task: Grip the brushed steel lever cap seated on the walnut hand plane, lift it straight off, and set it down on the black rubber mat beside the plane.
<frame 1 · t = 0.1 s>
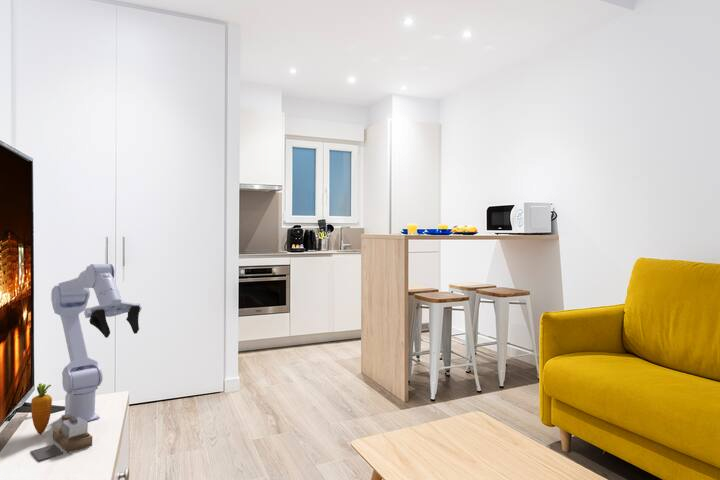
hand: (122, 333, 123), 32 cm above the table, tool tilted 50°, fingers open, 7 cm apart
carrot: (40, 435, 130), on the table
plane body: (72, 441, 126), on the table
rubber mat: (46, 453, 119), on the table
lever cap: (74, 434, 125), point 2 cm above the table, touching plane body
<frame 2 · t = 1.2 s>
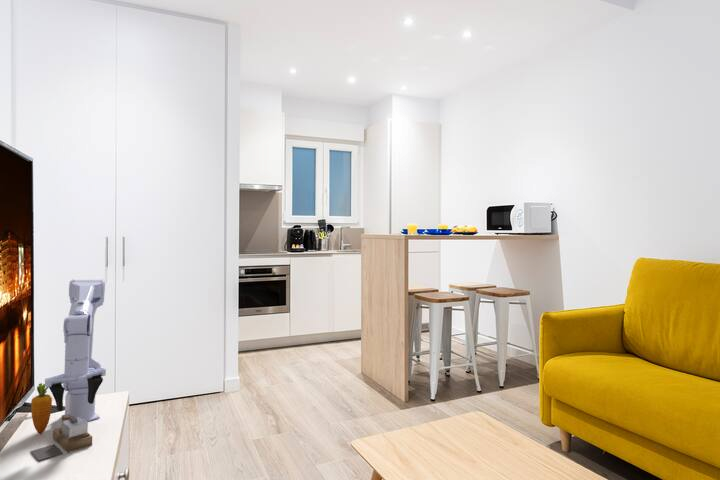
hand: (75, 406, 125), 10 cm above the table, tool pointing down, fingers open, 7 cm apart
nothing on the table moved.
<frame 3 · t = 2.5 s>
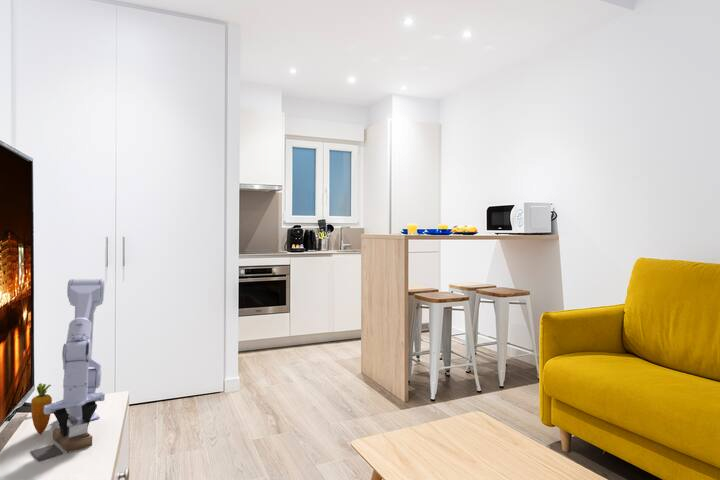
hand: (74, 432, 125), 3 cm above the table, tool pointing down, fingers closed on lever cap, 4 cm apart
lever cap: (74, 434, 125), point 2 cm above the table, touching gripper, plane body
everything else where it was.
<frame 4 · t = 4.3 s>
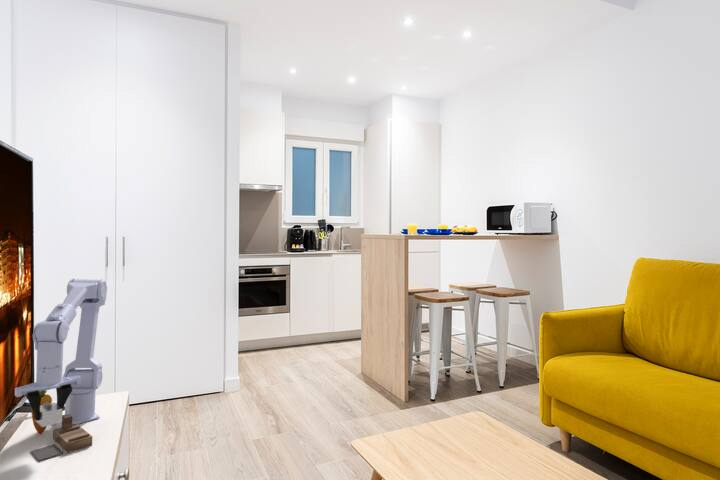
hand: (48, 416, 119), 10 cm above the table, tool pointing down, fingers closed on lever cap, 4 cm apart
lever cap: (48, 421, 119), point 9 cm above the table, touching gripper
everything else where it was.
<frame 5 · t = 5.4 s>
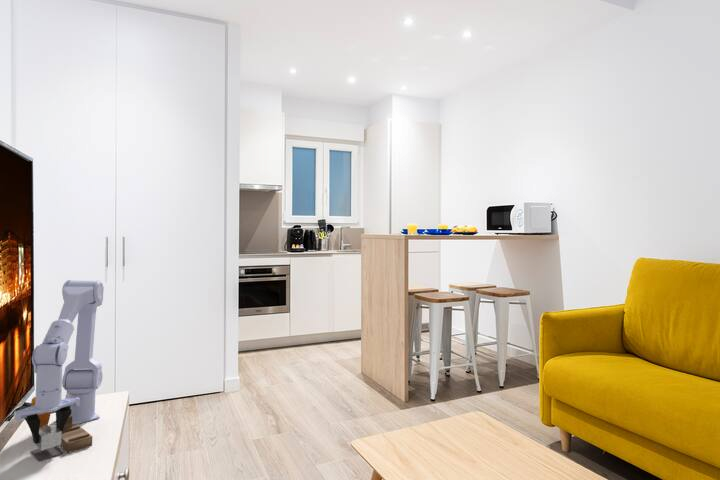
hand: (47, 439, 119), 4 cm above the table, tool pointing down, fingers closed on lever cap, 4 cm apart
lever cap: (47, 443, 119), point 3 cm above the table, touching gripper
everything else where it was.
when the fingers open (4 cm above the table, at t = 5.9 s): lever cap drops 2 cm, resting on rubber mat.
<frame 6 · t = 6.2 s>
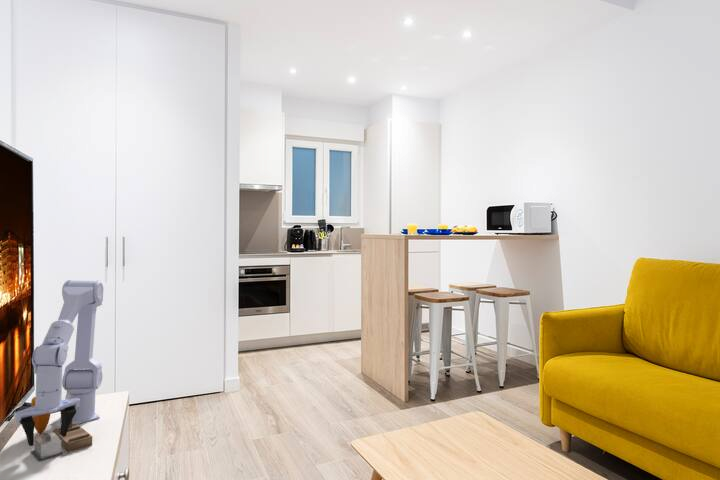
hand: (47, 439, 119), 4 cm above the table, tool pointing down, fingers open, 7 cm apart
lever cap: (47, 452, 119), resting on rubber mat
everything else where it was.
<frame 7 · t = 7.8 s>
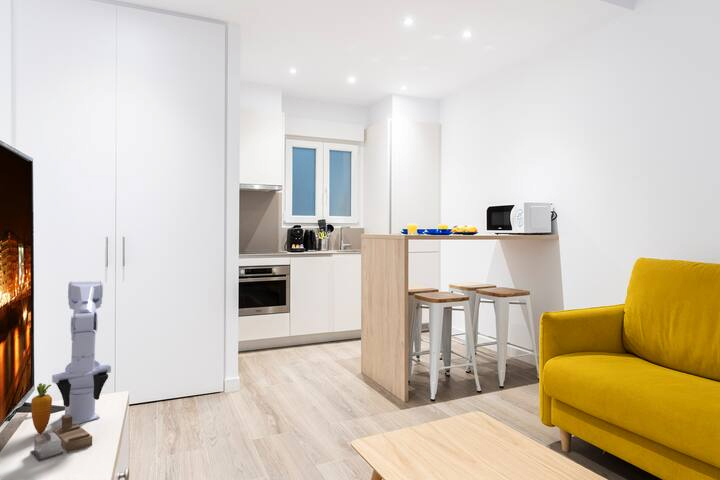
hand: (81, 402, 128), 10 cm above the table, tool pointing down, fingers open, 7 cm apart
nothing on the table moved.
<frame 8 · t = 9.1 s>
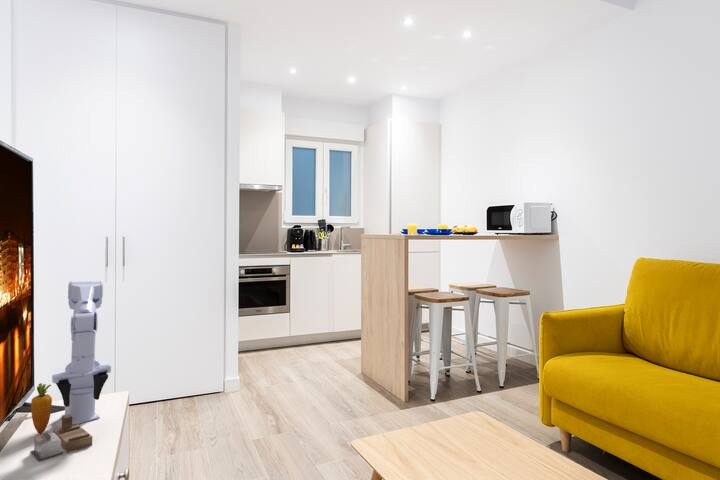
hand: (81, 402, 128), 10 cm above the table, tool pointing down, fingers open, 7 cm apart
nothing on the table moved.
at the end: lever cap 0.2 cm off-centre on the rubber mat, point 0.4 cm above the rubber mat's base; lever cap touching rubber mat; lever cap tilted 0° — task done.
